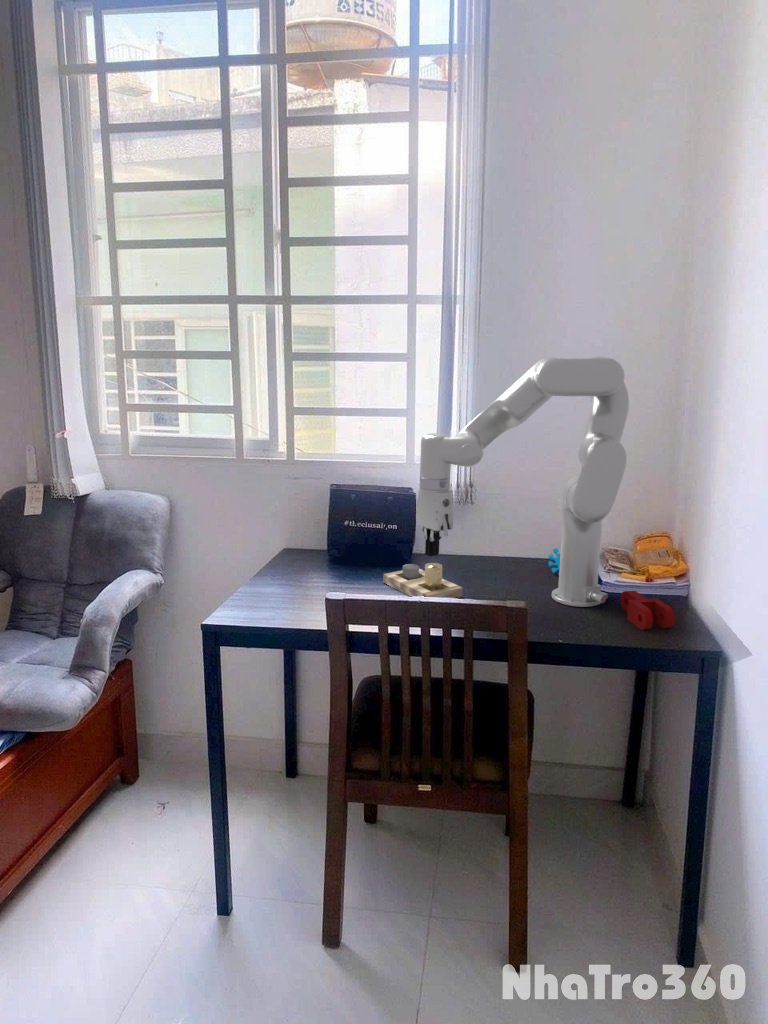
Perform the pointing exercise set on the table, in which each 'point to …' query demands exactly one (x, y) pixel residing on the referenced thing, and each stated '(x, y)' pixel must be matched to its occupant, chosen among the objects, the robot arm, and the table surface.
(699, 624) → the table surface
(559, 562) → the gear
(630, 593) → the mechanical linkage
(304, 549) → the table surface
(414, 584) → the jig
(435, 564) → the gold metallic cylinder
